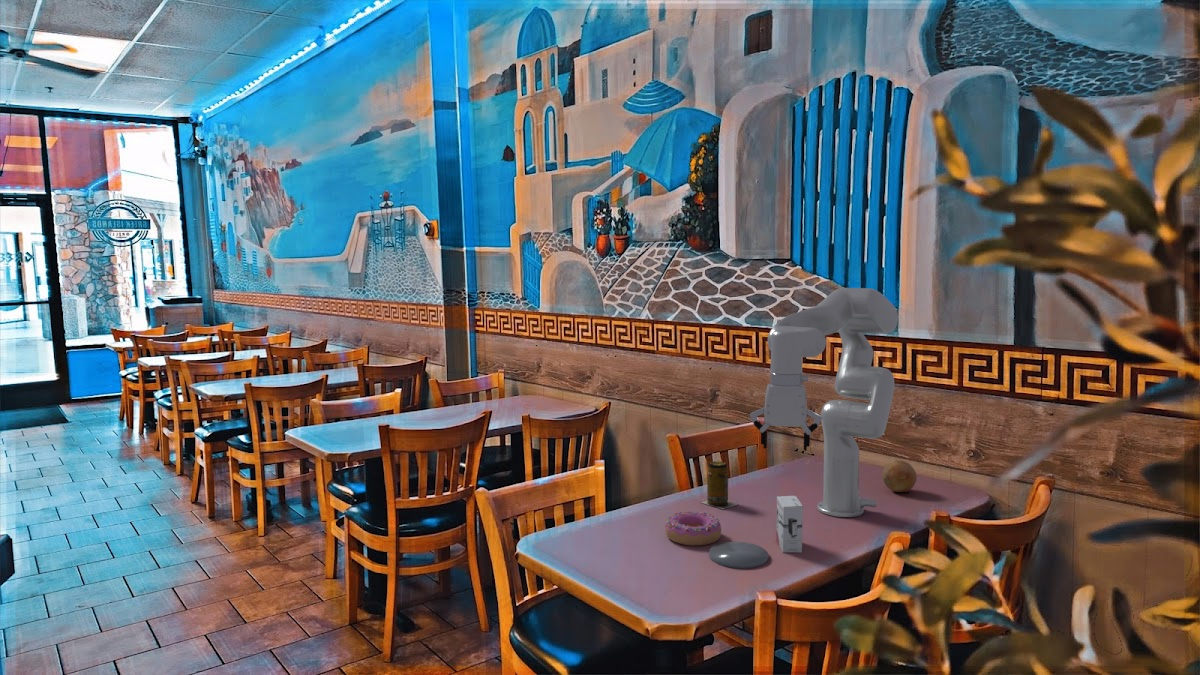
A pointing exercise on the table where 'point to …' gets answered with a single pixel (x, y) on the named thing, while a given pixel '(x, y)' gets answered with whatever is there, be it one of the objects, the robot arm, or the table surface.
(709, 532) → the donut
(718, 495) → the condiment
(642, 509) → the table surface
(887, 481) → the onion
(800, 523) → the ink box
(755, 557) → the grey oval disc
